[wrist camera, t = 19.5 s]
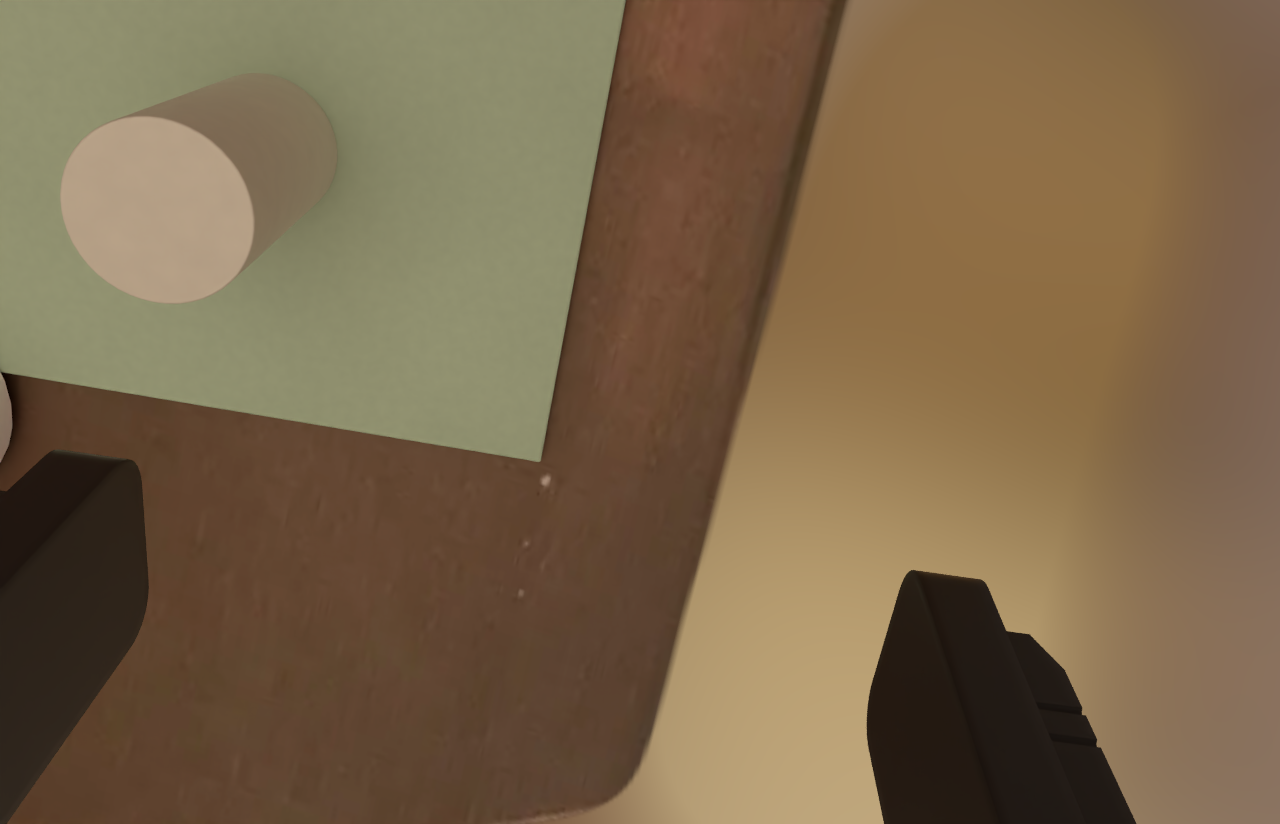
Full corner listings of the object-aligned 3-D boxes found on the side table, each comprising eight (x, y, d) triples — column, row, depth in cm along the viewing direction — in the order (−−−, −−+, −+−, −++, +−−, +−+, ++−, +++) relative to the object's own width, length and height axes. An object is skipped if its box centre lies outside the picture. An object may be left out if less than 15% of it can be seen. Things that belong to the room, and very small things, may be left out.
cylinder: (344, 88, 34) (261, 137, 25) (330, 231, 35) (248, 319, 27) (194, 59, 33) (59, 97, 25) (187, 204, 35) (58, 286, 26)
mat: (630, -27, 33) (630, -26, 33) (541, 455, 39) (540, 462, 39) (-78, -180, 31) (-90, -182, 31) (-58, 355, 37) (-68, 361, 36)
